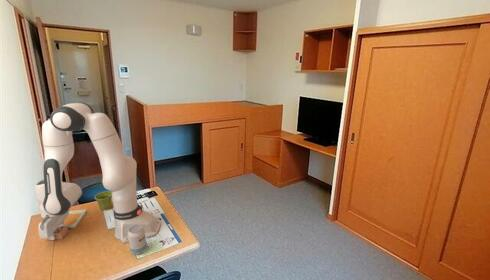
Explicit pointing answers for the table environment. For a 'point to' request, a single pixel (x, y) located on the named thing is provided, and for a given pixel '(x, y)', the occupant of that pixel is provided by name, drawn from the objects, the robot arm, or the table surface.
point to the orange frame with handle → (60, 232)
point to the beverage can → (137, 239)
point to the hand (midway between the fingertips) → (57, 234)
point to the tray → (77, 219)
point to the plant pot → (104, 200)
